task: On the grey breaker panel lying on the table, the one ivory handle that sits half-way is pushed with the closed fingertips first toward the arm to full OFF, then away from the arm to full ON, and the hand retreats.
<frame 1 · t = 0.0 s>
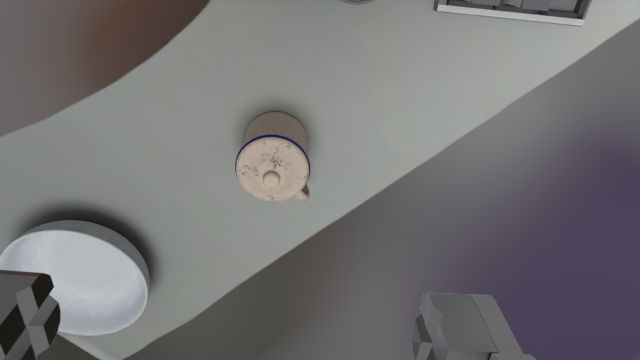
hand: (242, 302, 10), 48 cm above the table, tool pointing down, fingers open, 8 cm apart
serving bowl: (94, 256, 70), on the table
teacup with lid: (282, 147, 61), on the table
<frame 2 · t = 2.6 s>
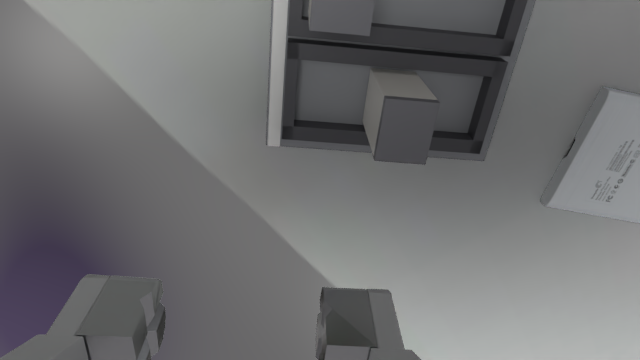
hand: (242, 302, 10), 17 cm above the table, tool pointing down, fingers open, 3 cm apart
tripped breaker: (396, 113, 21), point 4 cm above the table, slide at 3.5 cm
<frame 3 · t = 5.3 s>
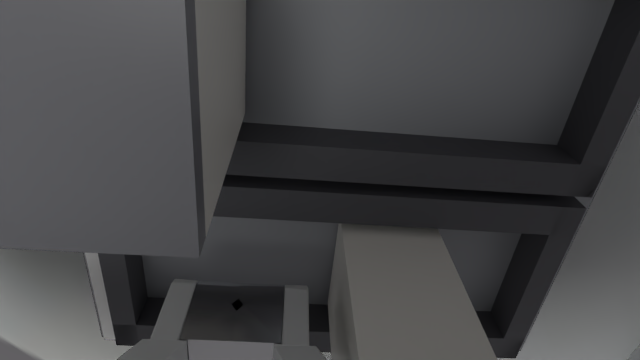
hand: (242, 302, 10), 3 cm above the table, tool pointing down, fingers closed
tripped breaker: (394, 335, 10), point 4 cm above the table, slide at 2.2 cm, touching gripper
panel: (351, 34, 10), on the table
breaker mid: (146, 70, 6), point 4 cm above the table, slide at 7.0 cm
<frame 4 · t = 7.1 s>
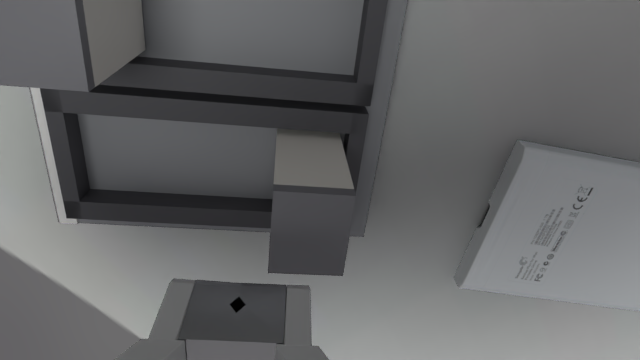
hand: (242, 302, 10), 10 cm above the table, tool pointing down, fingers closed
tripped breaker: (307, 195, 15), point 4 cm above the table, slide at 0.0 cm
external hard drive: (584, 223, 23), on the table
panel: (220, 3, 16), on the table
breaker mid: (70, 9, 12), point 4 cm above the table, slide at 7.0 cm
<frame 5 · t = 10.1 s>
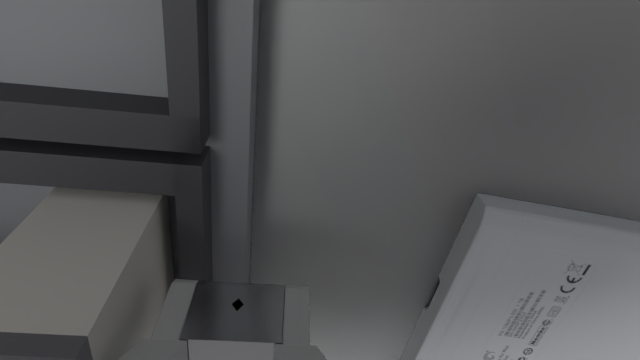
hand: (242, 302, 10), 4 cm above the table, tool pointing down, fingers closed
tripped breaker: (80, 304, 9), point 4 cm above the table, slide at 0.1 cm, touching gripper
external hard drive: (581, 299, 16), on the table
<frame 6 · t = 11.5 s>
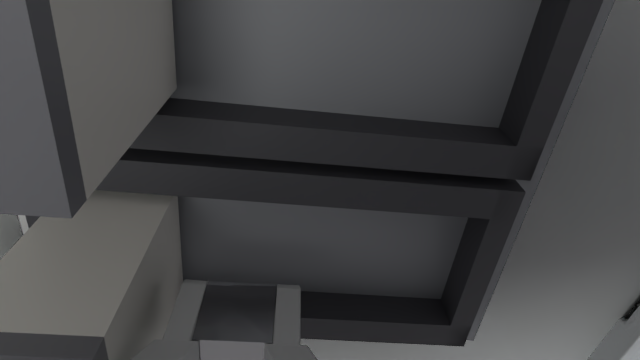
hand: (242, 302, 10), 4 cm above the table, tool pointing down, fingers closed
tripped breaker: (92, 305, 9), point 4 cm above the table, slide at 7.1 cm, touching gripper
panel: (292, 12, 10), on the table
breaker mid: (44, 32, 6), point 4 cm above the table, slide at 7.0 cm
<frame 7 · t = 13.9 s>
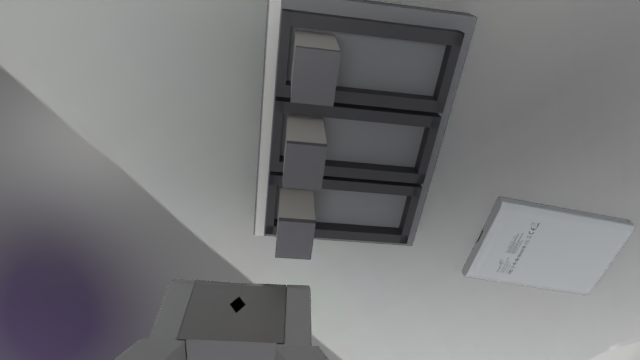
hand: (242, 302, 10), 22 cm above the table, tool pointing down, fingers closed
tripped breaker: (295, 220, 31), point 4 cm above the table, slide at 7.0 cm
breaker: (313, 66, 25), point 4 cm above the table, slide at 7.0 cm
external hard drive: (538, 240, 39), on the table
panel: (349, 130, 32), on the table
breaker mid: (303, 150, 28), point 4 cm above the table, slide at 7.0 cm
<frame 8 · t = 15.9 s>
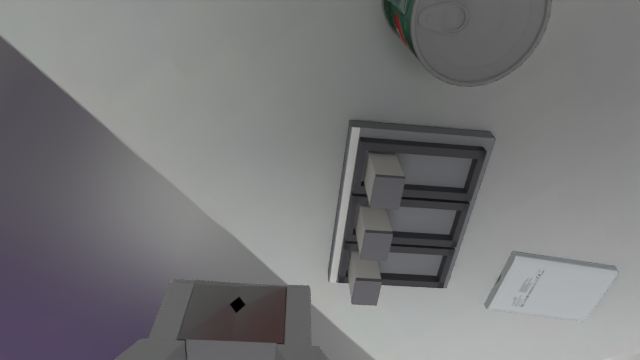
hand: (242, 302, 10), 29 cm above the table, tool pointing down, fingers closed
tripped breaker: (363, 275, 43), point 4 cm above the table, slide at 7.0 cm
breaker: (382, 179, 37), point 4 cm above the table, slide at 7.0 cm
external hard drive: (544, 281, 50), on the table
panel: (401, 208, 44), on the table
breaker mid: (372, 230, 40), point 4 cm above the table, slide at 7.0 cm
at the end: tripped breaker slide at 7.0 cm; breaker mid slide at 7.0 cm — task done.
